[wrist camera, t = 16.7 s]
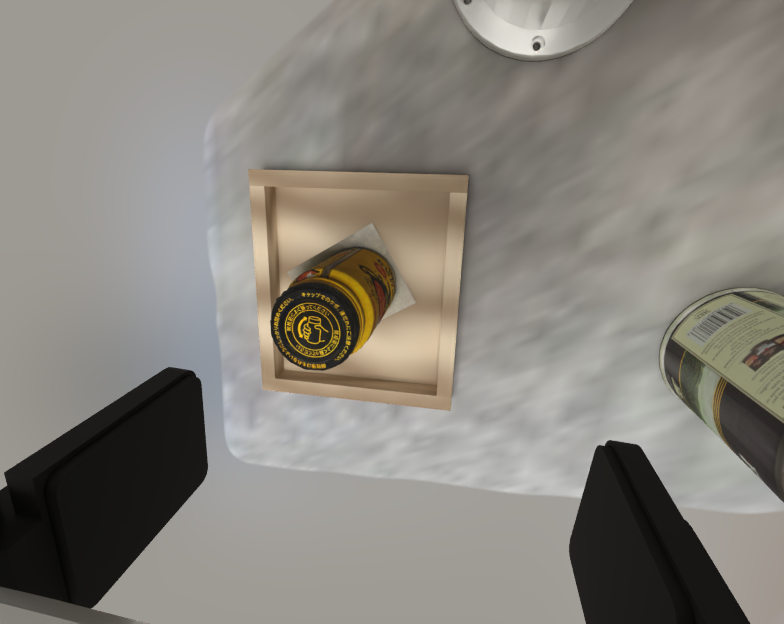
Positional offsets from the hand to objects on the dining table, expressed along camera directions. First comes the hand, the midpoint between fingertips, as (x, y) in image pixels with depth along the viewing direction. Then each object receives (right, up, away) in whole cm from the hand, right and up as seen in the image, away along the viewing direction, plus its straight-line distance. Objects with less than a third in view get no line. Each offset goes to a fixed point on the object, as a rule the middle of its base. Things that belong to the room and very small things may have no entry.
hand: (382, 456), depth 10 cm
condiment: (-3, +6, +26) cm, 26 cm away
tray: (-2, +5, +26) cm, 27 cm away
